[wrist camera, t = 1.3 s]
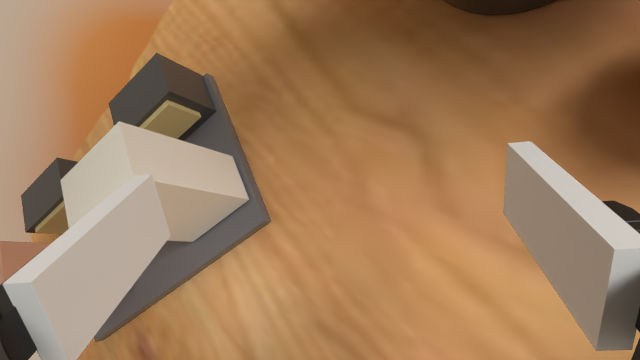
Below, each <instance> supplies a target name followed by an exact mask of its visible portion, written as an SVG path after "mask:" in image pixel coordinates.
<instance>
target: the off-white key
mask: <svg viewBox="0 0 640 360" xmlns="http://www.w3.org/2000/svg"><path fill="white" fill-rule="evenodd" d="M148 174H152V176H153V179H154V182H155V186H156V189H157V192H158V195H159V199H160V202H161V205H162V209H163V212H164V215H165V218H166V222H167V225H168V228H169V232H170V235H171V236H170V237H169V239H168V241H186V242H193V241H195V240H196V239H197V238H199V237H200V236H201V235H203V234H204V233H205V232H207V231H208V230H209V229H211V228H212V227H213V226H215V225H216V224H217V223H219V222H220V221H221V220H223V219H224V218H225V217H227V216H228V215H229V214H231V213H232V212H233V211H235V210H236V209H237V208H239V207H240V206H241V205H243V204H244V203H245V202H247V201H248V200H249V198H248V195H247V193H246V190H245V187H244V185H243V182H242V180H241V177H240V174H239V172H238V169H237V167H236V164H235V161H234V159H233V156H230V155H227V154H224V153H220V152H217V151H214V150H211V149H207V148H204V147H201V146H198V145H194V144H191V143H188V142H185V141H182V140H178V139H175V138H172V137H169V136H165V135H162V134H159V133H156V132H152V131H149V130H146V129H143V128H139V127H136V126H133V125H130V124H126V123H123V122H120V121H119V122H118V123H117V124H116V125H115V126H114V127H113V128H112V129H111V130H110V131H109V132H108V133H107V134H106V135H105V136H104V137H103V138H102V139H101V140H100V141H99V142H98V143H97V144H96V145H95V146H94V147H93V148H92V149H91V150H90V151H89V152H88V153H87V154H86V155H85V156H84V157H83V158H82V159H81V160H80V161H79V162H78V163H77V164H76V165H75V166H74V167H73V168H72V169H71V170H70V171H69V172H68V173H67V174H66V175H65V176H64V177H63V178H62V179H61V180H60V181H61V186H62V192H63V198H64V204H65V210H66V215H67V221H68V227H69V228H71V227H72V226H73V225H74V224H76V223H77V222H78V221H79V220H80V219H82V218H83V217H84V216H85V215H86V214H88V213H89V212H90V211H91V210H92V209H94V208H95V207H96V206H97V205H99V204H100V203H101V202H102V201H103V200H105V199H106V198H107V197H108V196H109V195H111V194H112V193H113V192H114V191H116V190H117V189H118V188H119V187H120V186H122V185H123V184H124V183H125V182H126V181H128V180H129V179H130V178H131V177H133V176H137V175H148Z"/></svg>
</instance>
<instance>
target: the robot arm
mask: <svg viewBox="0 0 640 360" xmlns="http://www.w3.org/2000/svg"><path fill="white" fill-rule="evenodd" d="M445 1H447V2H448V3H450V4H451V5H453V6H455V7H457V8H460V9H462V10H465V11H469V12H473V13H478V14H488V15H502V14H512V13H518V12H523V11H527V10H531V9H535V8H538V7H541V6H544V5H546V4H549V3H551V2H554V1H556V0H445ZM503 213H504V215H505V216H506V218H507V219H508V221H509V222H510V224H511V225H512V227H513V228H514V230H515V231H516V233H517V234H518V235H519V237H520V238H521V240H522V241H523V243H524V244H525V246H526V247H527V249H528V250H529V252H530V253H531V255H532V256H533V258H534V259H535V261H536V262H537V264H538V265H539V267H540V268H541V270H542V271H543V273H544V274H545V276H546V277H547V279H548V280H549V282H550V283H551V285H552V286H553V288H554V289H555V291H556V292H557V294H558V295H559V297H560V298H561V299H562V301H563V302H564V304H565V305H566V307H567V308H568V310H569V311H570V313H571V314H572V316H573V317H574V319H575V320H576V322H577V323H578V325H579V326H580V328H581V329H582V331H583V332H584V334H585V335H586V337H587V338H588V340H589V341H590V343H591V344H592V346H593V347H594V349H595V350H596V351H604V350H632V347H633V342H634V338H635V334H636V329H637V330H638V331H639V332H640V214H639V213H638V212H636V211H635V210H634V209H632V208H630V207H627V206H625V205H623V204H620V203H618V202H616V201H600V200H599V199H598V198H597V197H596V196H594V195H593V194H592V193H591V192H590V191H589V190H587V189H586V188H585V187H584V186H583V185H581V184H580V183H579V182H578V181H577V180H576V179H574V178H573V177H572V176H571V175H570V174H569V173H567V172H566V171H565V170H564V169H563V168H561V167H560V166H559V165H558V164H557V163H556V162H554V161H553V160H552V159H551V158H550V157H548V156H547V155H546V154H545V153H544V152H543V151H541V150H540V149H539V148H538V147H537V146H536V145H534V144H533V143H532V142H531V141H528V142H517V143H507V159H506V177H505V194H504V211H503ZM170 236H171V235H170V232H169V228H168V225H167V222H166V218H165V215H164V212H163V209H162V205H161V202H160V199H159V195H158V192H157V189H156V186H155V182H154V179H153V176H152V174H148V175H137V176H133V177H131V178H130V179H129V180H128V181H126V182H125V183H124V184H123V185H122V186H120V187H119V188H118V189H117V190H116V191H114V192H113V193H112V194H111V195H109V196H108V197H107V198H106V199H105V200H103V201H102V202H101V203H100V204H99V205H97V206H96V207H95V208H94V209H92V210H91V211H90V212H89V213H88V214H86V215H85V216H84V217H83V218H82V219H80V220H79V221H78V222H77V223H76V224H74V225H73V226H72V227H71V228H69V229H68V230H67V231H66V232H65V233H63V234H62V235H61V236H60V237H59V238H57V239H56V240H55V241H54V242H52V243H51V244H50V245H49V246H48V247H46V248H45V249H43V250H42V251H41V252H39V253H38V254H37V255H36V256H35V257H33V258H32V259H31V261H28V262H27V263H26V264H25V265H24V266H22V267H21V269H20V270H18V271H16V272H15V273H14V274H13V275H11V276H10V277H9V278H8V279H7V280H5V281H4V282H3V283H2V284H1V285H0V360H28V359H29V358H30V357H31V356H32V355H33V354H34V353H35V351H36V350H37V352H38V354H39V356H40V358H41V360H77V358H78V357H79V356H80V354H81V353H82V352H83V350H84V349H85V348H86V346H87V345H88V344H89V343H90V341H91V340H92V339H93V337H94V336H95V335H96V333H97V332H98V331H99V329H100V328H101V327H102V325H103V324H104V323H105V321H106V320H107V319H108V318H109V316H110V315H111V314H112V312H113V311H114V310H115V308H116V307H117V306H118V304H119V303H120V302H121V300H122V299H123V298H124V296H125V295H126V294H127V293H128V291H129V290H130V289H131V287H132V286H133V285H134V283H135V282H136V281H137V279H138V278H139V277H140V275H141V274H142V273H143V271H144V270H145V269H146V268H147V266H148V265H149V264H150V262H151V261H152V260H153V258H154V257H155V256H156V254H157V253H158V252H159V250H160V249H161V248H162V246H163V245H164V244H165V243H166V241H167V240H168V239H169V237H170ZM631 360H640V339H639V341H638V344H637V346H636V349H635V352H634V354H633V357H632V359H631Z"/></svg>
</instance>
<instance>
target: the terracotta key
mask: <svg viewBox="0 0 640 360" xmlns="http://www.w3.org/2000/svg"><path fill="white" fill-rule="evenodd" d="M50 244H51V243H32V242H5V241H0V285H1V284H2V283H3V282H4V281H5V280H7V279H8V278H9V277H10V276H11V275H13V274H14V273H15V272H16V271H18V270H20V269H21V267H22V266H24V265H25V264H26V263H27V262H28V261H31V259H32V258H33V257H35V256H36V255H37V254H38V253H39V252H41V251H42V250H43V249H45V248H46V247H48V246H49V245H50ZM132 287H133V286H132ZM132 287H131V288H132Z"/></svg>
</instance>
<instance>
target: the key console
mask: <svg viewBox="0 0 640 360" xmlns="http://www.w3.org/2000/svg"><path fill="white" fill-rule="evenodd" d="M109 107H110V111H111V115H112V119H113V123H114V126H115V125H116V124H117V123H118V122H119V121H120V122H123V123H126V124H130V125H133V126H136V127H139V128H143V129H146V130H149V131H152V132H156V133H159V134H162V135H165V136H169V137H172V138H175V139H178V140H182V141H185V142H188V143H191V144H194V145H198V146H201V147H204V148H207V149H211V150H214V151H217V152H220V153H224V154H227V155H230V156H233V159H234V161H235V164H236V167H237V169H238V172H239V174H240V177H241V180H242V182H243V185H244V187H245V190H246V193H247V195H248V198H249V200H248V201H247V202H245V203H244V204H243V205H241V206H240V207H239V208H237V209H236V210H235V211H233V212H232V213H231V214H229V215H228V216H227V217H225V218H224V219H223V220H221V221H220V222H219V223H217V224H216V225H215V226H213V227H212V228H211V229H209V230H208V231H207V232H205V233H204V234H203V235H201V236H200V237H199V238H197V239H196V240H195V241H193V242H186V241H168V240H167V241H166V243H165V244H164V245H163V246H162V248H161V249H160V250H159V252H158V253H157V254H156V256H155V257H154V258H153V260H152V261H151V262H150V264H149V265H148V266H147V268H146V269H145V270H144V271H143V273H142V274H141V275H140V277H139V278H138V279H137V281H136V282H135V283H134V285H133V287H132V288H131V289H130V290H129V291H128V293H127V294H126V295H125V296H124V298H123V299H122V300H121V302H120V303H119V304H118V306H117V307H116V308H115V310H114V311H113V312H112V314H111V315H110V316H109V318H108V319H107V320H106V321H105V323H104V324H103V325H102V327H101V328H100V329H99V331H98V332H97V333H96V335H95V336H94V339H95V341H100V340H104V339H105V338H107V337H108V336H110V335H111V334H112V333H114V332H115V331H117V330H118V329H119V328H121V327H122V326H124V325H125V324H127V323H128V322H129V321H131V320H132V319H134V318H135V317H136V316H138V315H139V314H141V313H142V312H144V311H145V310H146V309H148V308H149V307H151V306H152V305H153V304H155V303H156V302H158V301H159V300H161V299H162V298H163V297H165V296H166V295H168V294H169V293H170V292H172V291H173V290H175V289H176V288H178V287H179V286H180V285H182V284H183V283H185V282H186V281H187V280H189V279H190V278H192V277H193V276H195V275H196V274H197V273H199V272H200V271H202V270H203V269H205V268H206V267H207V266H209V265H210V264H212V263H213V262H214V261H216V260H217V259H219V258H220V257H222V256H223V255H224V254H226V253H227V252H229V251H230V250H231V249H233V248H234V247H236V246H237V245H239V244H240V243H241V242H243V241H244V240H246V239H247V238H248V237H250V236H251V235H253V234H254V233H256V232H257V231H258V230H260V229H261V228H263V227H264V226H265V225H267V224H268V223H270V222H271V220H270V217H269V215H268V212H267V210H266V207H265V205H264V202H263V200H262V197H261V195H260V192H259V190H258V187H257V185H256V182H255V180H254V177H253V175H252V172H251V170H250V167H249V165H248V162H247V160H246V157H245V155H244V152H243V150H242V147H241V145H240V142H239V140H238V137H237V135H236V133H235V130H234V128H233V125H232V123H231V120H230V118H229V115H228V113H227V110H226V108H225V105H224V103H223V100H222V98H221V95H220V93H219V90H218V88H217V85H216V83H215V80H214V78H213V76H211V75H209V74H207V73H206V74H205V75H204V76H202V75H200V74H198V73H196V72H194V71H192V70H190V69H188V68H186V67H184V66H182V65H180V64H178V63H176V62H174V61H172V60H170V59H168V58H166V57H164V56H162V55H160V54H158V53H156V54H155V55H154V56H153V57H152V58H151V59H150V60H149V61H148V63H147V64H146V65H145V66H144V67H143V68H142V69H141V70H140V71H139V72H138V73H137V74H136V75H135V76H134V77H133V78H132V79H131V80H130V81H129V83H128V84H127V85H126V86H125V87H124V88H123V89H122V90H121V91H120V92H119V93H118V94H117V95H116V96H115V97H114V98H113V100H111V102H110V103H109ZM77 163H78V162H76V161H71V160H66V159H61V158H56V160H54V162H53V163H52V164H51V165H50V166H49V167H48V168H47V169H46V170H45V171H44V172H43V173H42V174H41V175H40V176H39V177H38V178H37V180H35V181H34V183H33V184H32V185H31V186H30V187H29V188H28V189H27V190H26V191H25V192H24V193H23V194H22V195H21V198H22V205H23V213H24V222H25V230H26V232H29V233H47V234H63V233H65V232H66V231H67V230H68V229H69V227H68V221H67V215H66V210H65V204H64V198H63V192H62V186H61V181H60V180H61V179H62V178H63V177H64V176H65V175H66V174H67V173H68V172H69V171H70V170H71V169H72V168H73V167H74V166H75V165H76V164H77Z"/></svg>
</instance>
